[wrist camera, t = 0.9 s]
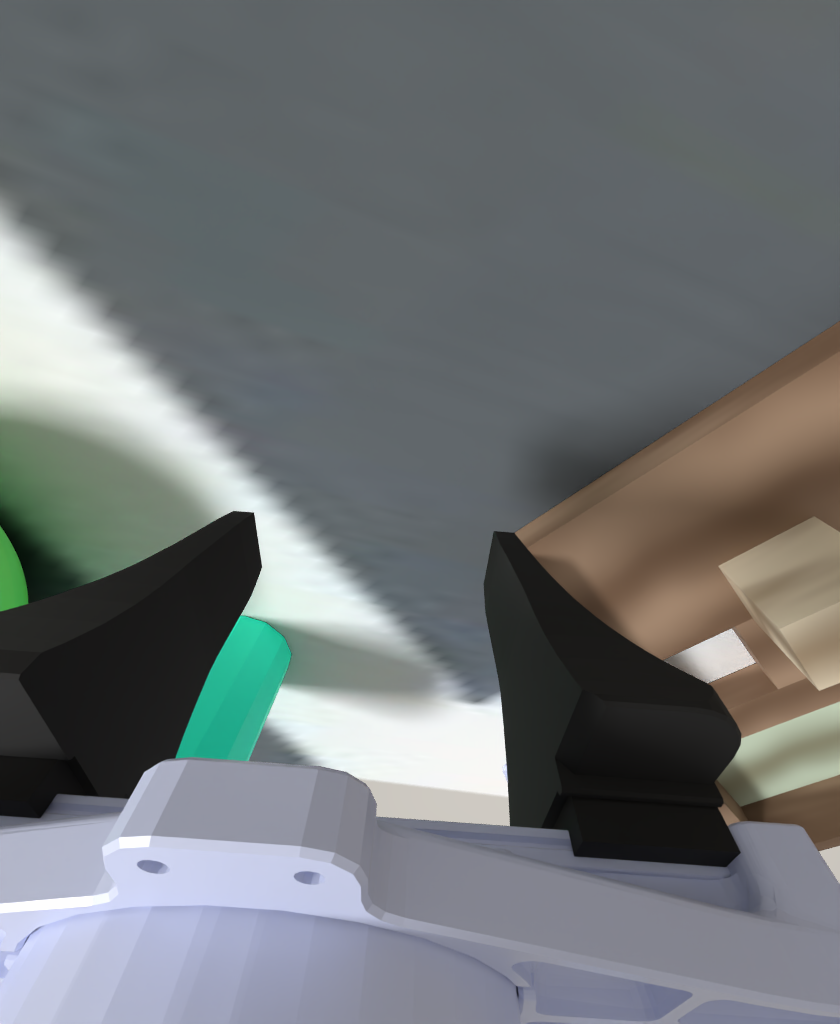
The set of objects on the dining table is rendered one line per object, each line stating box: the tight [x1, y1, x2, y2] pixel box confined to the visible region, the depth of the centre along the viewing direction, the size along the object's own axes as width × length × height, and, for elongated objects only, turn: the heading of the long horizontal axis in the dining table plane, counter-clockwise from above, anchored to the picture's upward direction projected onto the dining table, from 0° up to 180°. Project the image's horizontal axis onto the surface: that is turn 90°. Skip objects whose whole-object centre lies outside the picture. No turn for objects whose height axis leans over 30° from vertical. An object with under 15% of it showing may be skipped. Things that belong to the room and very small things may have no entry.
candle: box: [175, 616, 292, 761], centre depth 24 cm, size 6×6×12 cm
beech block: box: [718, 516, 840, 691], centre depth 19 cm, size 4×4×4 cm
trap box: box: [515, 321, 840, 851], centre depth 23 cm, size 28×21×5 cm
